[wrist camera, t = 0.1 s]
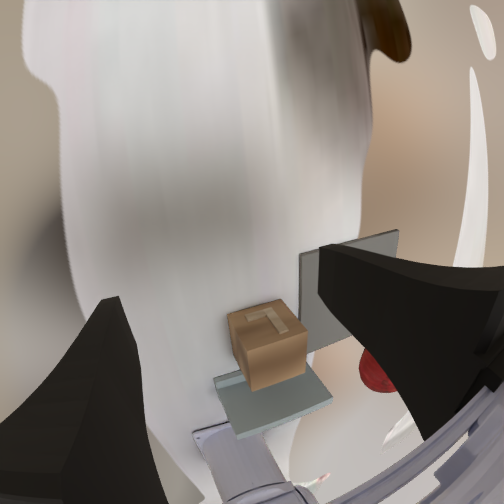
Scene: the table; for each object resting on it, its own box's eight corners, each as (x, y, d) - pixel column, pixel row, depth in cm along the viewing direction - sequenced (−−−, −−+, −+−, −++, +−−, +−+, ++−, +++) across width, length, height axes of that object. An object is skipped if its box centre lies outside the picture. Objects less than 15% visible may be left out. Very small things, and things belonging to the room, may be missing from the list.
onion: (350, 373, 34) (388, 416, 27) (341, 351, 31) (385, 398, 24) (385, 345, 34) (425, 383, 27) (381, 320, 31) (428, 360, 24)
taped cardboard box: (281, 339, 26) (305, 372, 22) (233, 354, 25) (251, 391, 21) (280, 296, 24) (308, 328, 20) (226, 311, 23) (246, 349, 19)
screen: (301, 368, 29) (330, 408, 24) (218, 396, 26) (238, 445, 21) (302, 349, 28) (334, 390, 23) (213, 378, 25) (234, 429, 20)
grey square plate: (381, 319, 31) (383, 321, 31) (297, 354, 28) (299, 356, 27) (396, 228, 26) (399, 230, 26) (299, 254, 23) (302, 256, 23)
